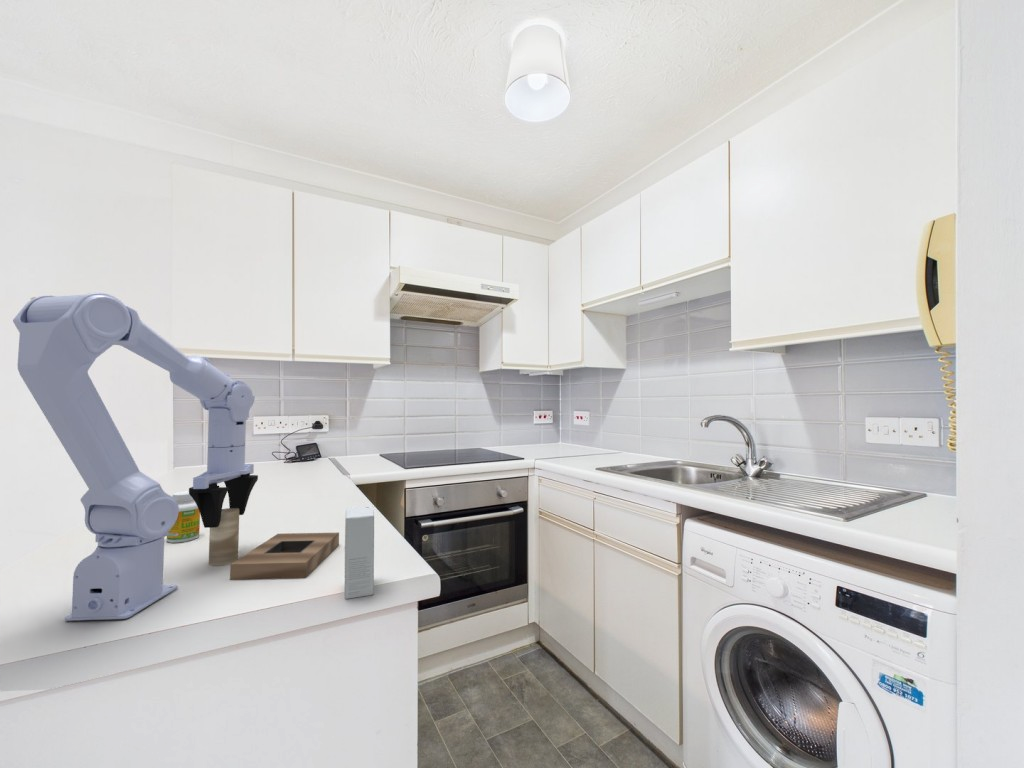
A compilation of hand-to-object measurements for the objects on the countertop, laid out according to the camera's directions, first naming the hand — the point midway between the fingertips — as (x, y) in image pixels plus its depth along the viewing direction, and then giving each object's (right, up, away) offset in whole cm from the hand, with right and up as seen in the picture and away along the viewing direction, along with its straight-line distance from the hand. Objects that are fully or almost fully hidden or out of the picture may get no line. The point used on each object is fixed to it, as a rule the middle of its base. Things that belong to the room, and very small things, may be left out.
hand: (225, 520), depth 76 cm
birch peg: (0, -7, 0) cm, 7 cm away
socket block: (+12, -7, 0) cm, 14 cm away
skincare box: (+29, -7, -12) cm, 32 cm away
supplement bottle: (-17, -8, +12) cm, 22 cm away
